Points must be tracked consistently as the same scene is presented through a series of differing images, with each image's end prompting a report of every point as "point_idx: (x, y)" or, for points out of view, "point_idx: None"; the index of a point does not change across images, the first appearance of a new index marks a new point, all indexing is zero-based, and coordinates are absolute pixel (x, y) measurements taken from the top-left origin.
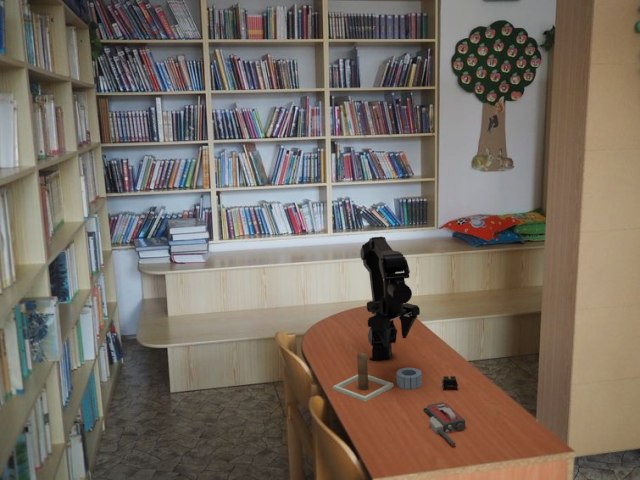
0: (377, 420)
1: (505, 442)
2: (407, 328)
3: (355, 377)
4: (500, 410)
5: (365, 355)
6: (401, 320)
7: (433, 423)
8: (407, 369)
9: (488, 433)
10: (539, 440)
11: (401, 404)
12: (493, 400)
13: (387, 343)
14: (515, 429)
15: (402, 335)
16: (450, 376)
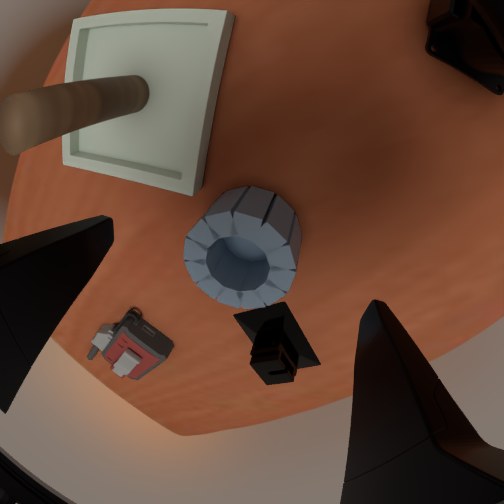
0: (52, 227)
1: (149, 401)
2: (356, 425)
3: (166, 22)
4: (235, 408)
5: (12, 150)
6: (427, 460)
7: (95, 338)
8: (266, 250)
9: (153, 390)
10: (181, 425)
11: (131, 250)
12: (270, 403)
13: (87, 271)
14: (188, 414)
15: (376, 315)
16: (286, 373)
